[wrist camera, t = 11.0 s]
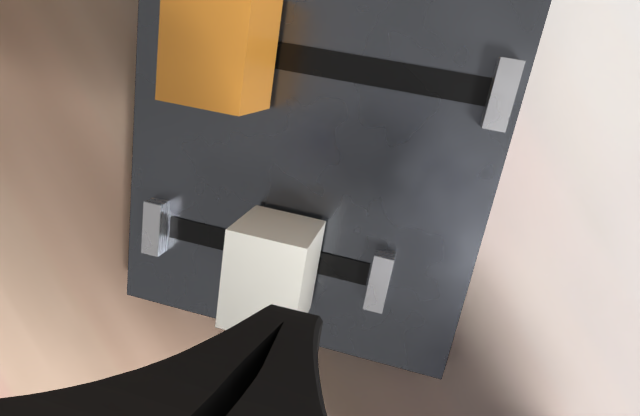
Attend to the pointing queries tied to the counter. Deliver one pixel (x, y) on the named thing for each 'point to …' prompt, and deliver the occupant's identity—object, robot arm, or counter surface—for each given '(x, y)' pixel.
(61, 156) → the counter surface
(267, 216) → the fader
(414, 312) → the mixer panel
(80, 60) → the counter surface
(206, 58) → the fader
